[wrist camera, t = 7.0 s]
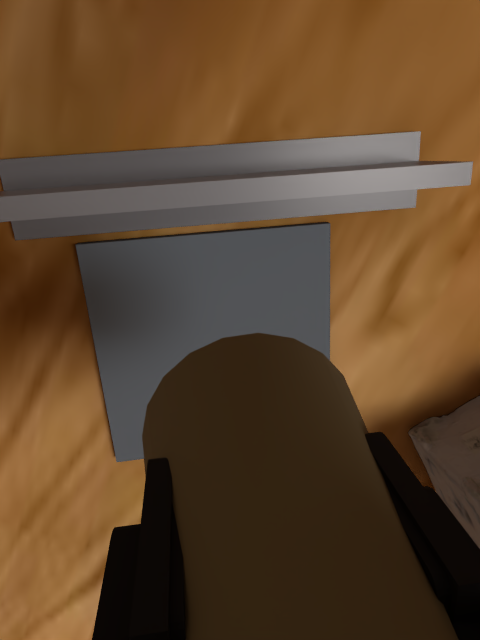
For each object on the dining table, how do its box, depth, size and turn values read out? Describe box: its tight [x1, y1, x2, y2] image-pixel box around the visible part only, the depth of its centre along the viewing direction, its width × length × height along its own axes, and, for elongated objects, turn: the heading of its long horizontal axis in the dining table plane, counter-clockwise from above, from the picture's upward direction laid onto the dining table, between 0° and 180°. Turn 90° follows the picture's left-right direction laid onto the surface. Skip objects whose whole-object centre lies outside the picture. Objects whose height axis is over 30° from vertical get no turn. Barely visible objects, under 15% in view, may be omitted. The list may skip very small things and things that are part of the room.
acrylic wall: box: [0, 131, 473, 240], centre depth 22 cm, size 22×4×6 cm, turn 94°
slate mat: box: [76, 222, 330, 462], centre depth 28 cm, size 14×14×1 cm
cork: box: [142, 333, 459, 640], centre depth 8 cm, size 6×6×11 cm
